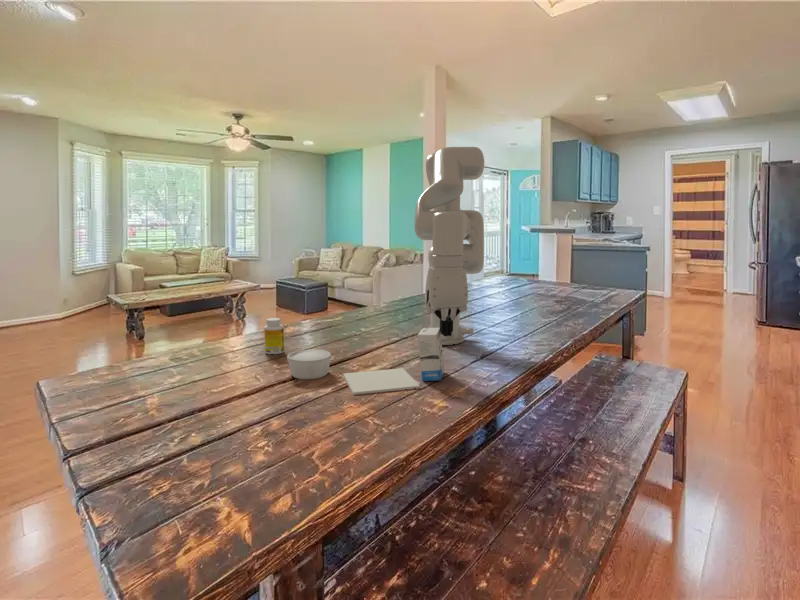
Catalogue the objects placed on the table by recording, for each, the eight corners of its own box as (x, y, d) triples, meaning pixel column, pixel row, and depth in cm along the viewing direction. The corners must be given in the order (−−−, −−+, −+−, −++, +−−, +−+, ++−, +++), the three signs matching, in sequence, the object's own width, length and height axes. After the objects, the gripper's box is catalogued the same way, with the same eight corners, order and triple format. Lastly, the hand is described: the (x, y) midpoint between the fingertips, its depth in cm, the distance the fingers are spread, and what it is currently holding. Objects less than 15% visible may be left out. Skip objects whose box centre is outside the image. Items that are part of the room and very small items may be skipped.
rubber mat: (403, 370, 128) (403, 368, 128) (419, 388, 115) (419, 385, 115) (343, 375, 124) (343, 373, 124) (353, 394, 111) (353, 392, 111)
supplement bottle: (285, 354, 143) (284, 320, 142) (266, 355, 142) (264, 321, 140) (283, 349, 149) (281, 316, 147) (264, 351, 147) (262, 317, 145)
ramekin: (293, 367, 131) (293, 348, 130) (334, 367, 131) (334, 348, 130) (282, 381, 120) (281, 360, 119) (327, 381, 120) (327, 361, 119)
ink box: (441, 381, 119) (436, 334, 117) (421, 381, 120) (416, 335, 118) (444, 370, 127) (441, 326, 125) (426, 370, 128) (422, 327, 126)
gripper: (468, 260, 125) (467, 329, 128) (413, 261, 121) (413, 333, 124) (481, 263, 118) (479, 336, 121) (424, 264, 114) (423, 340, 117)
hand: (446, 334), depth 122 cm, fingers closed
